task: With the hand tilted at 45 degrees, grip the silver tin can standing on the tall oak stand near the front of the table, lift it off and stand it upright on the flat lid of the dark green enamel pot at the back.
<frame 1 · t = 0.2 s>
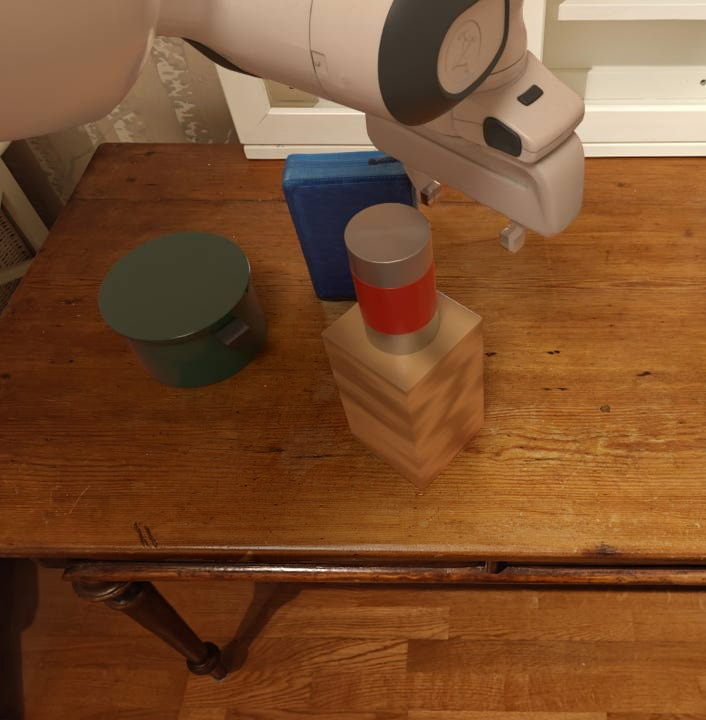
hand: (469, 223, 62), 22 cm above the table, tool pointing down, fingers open, 8 cm apart
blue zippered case: (375, 290, 88), on the table
stand: (419, 431, 75), on the table
can: (402, 325, 61), point 18 cm above the table, touching stand
pot: (203, 336, 83), on the table
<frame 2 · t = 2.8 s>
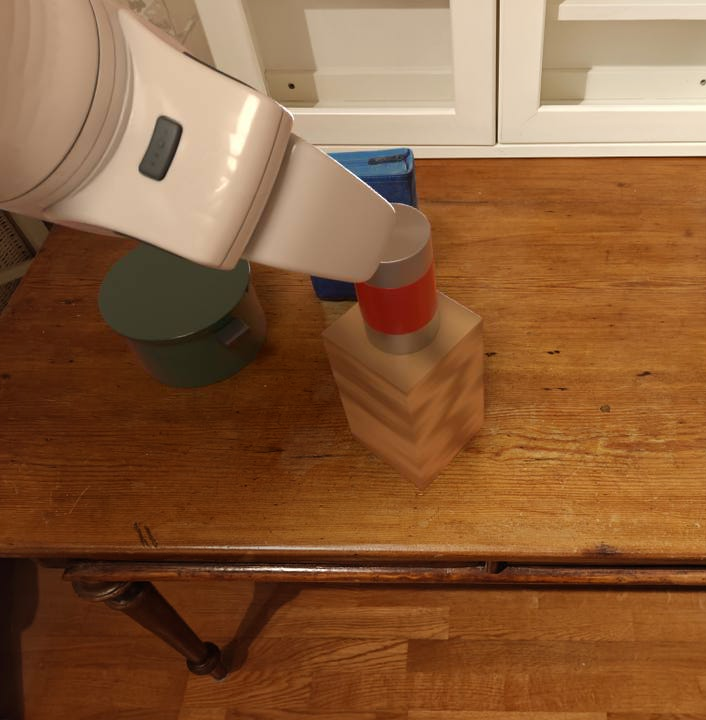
hand: (287, 205, 40), 38 cm above the table, tool tilted 35°, fingers open, 8 cm apart
nothing on the table moved.
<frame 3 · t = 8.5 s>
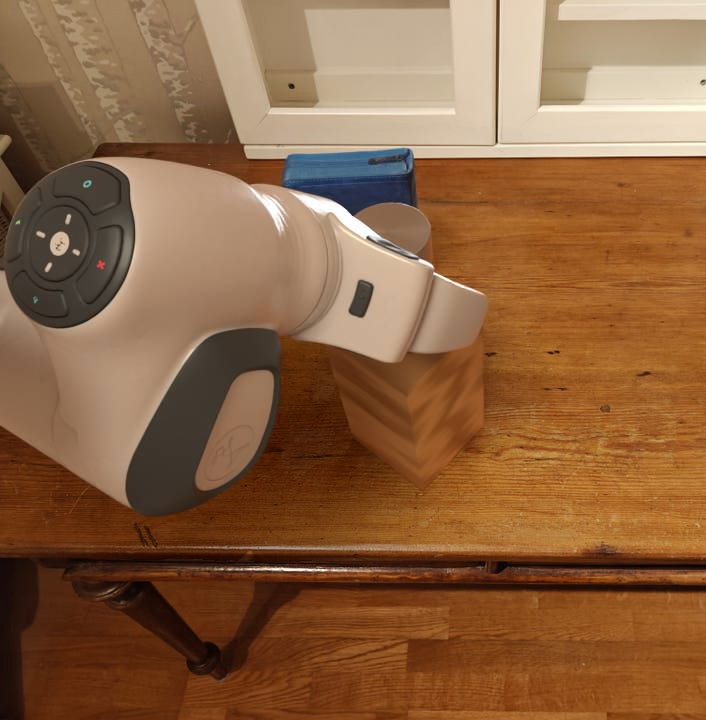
hand: (399, 273, 56), 24 cm above the table, tool tilted 45°, fingers closed on can, 6 cm apart
can: (402, 325, 61), point 18 cm above the table, touching gripper, stand
everything else where it was.
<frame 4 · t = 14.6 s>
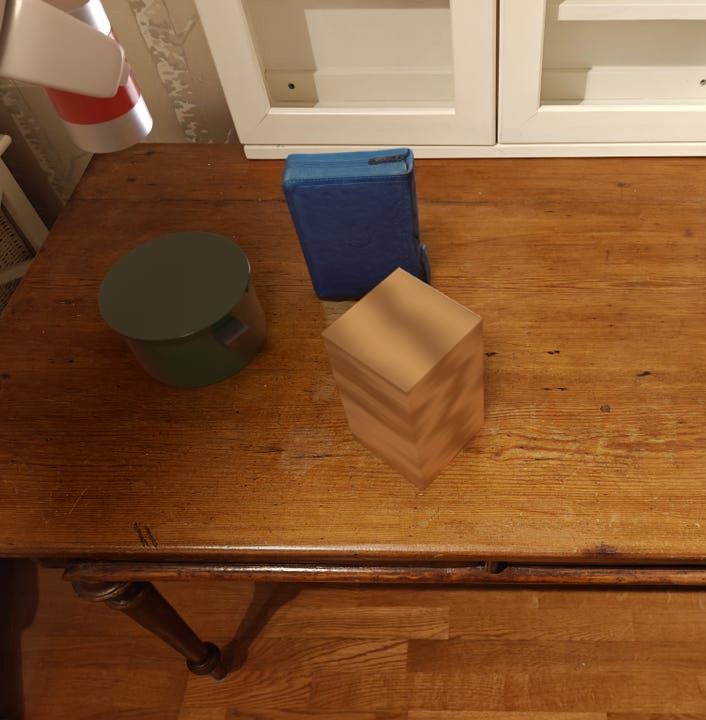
hand: (86, 60, 54), 36 cm above the table, tool tilted 45°, fingers closed on can, 6 cm apart
can: (113, 130, 59), point 30 cm above the table, touching gripper
everything else where it was.
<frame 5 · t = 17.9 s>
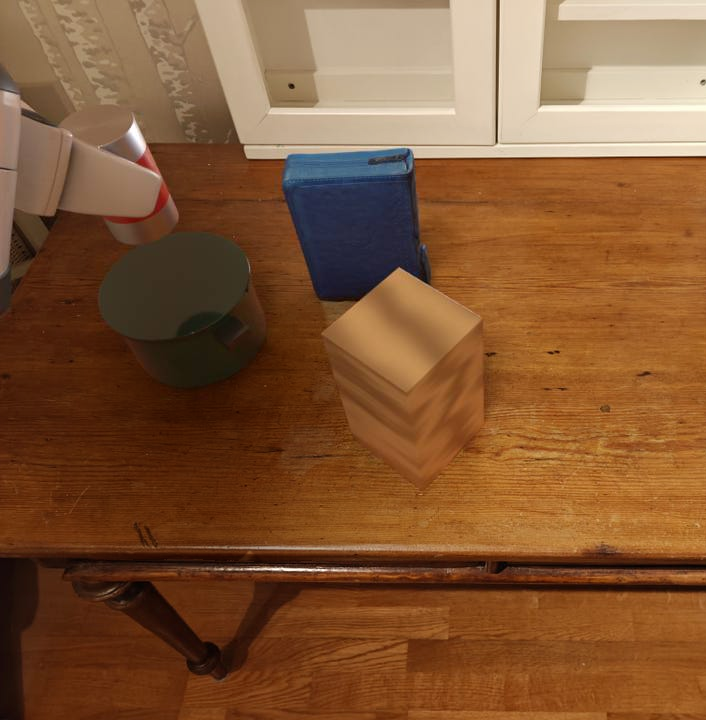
hand: (125, 169, 64), 24 cm above the table, tool tilted 45°, fingers closed on can, 6 cm apart
can: (145, 222, 69), point 18 cm above the table, touching gripper
everything else where it was.
when the fingers open (15 cm above the table, at t = 20.8 s): can stays where it is, resting on pot.
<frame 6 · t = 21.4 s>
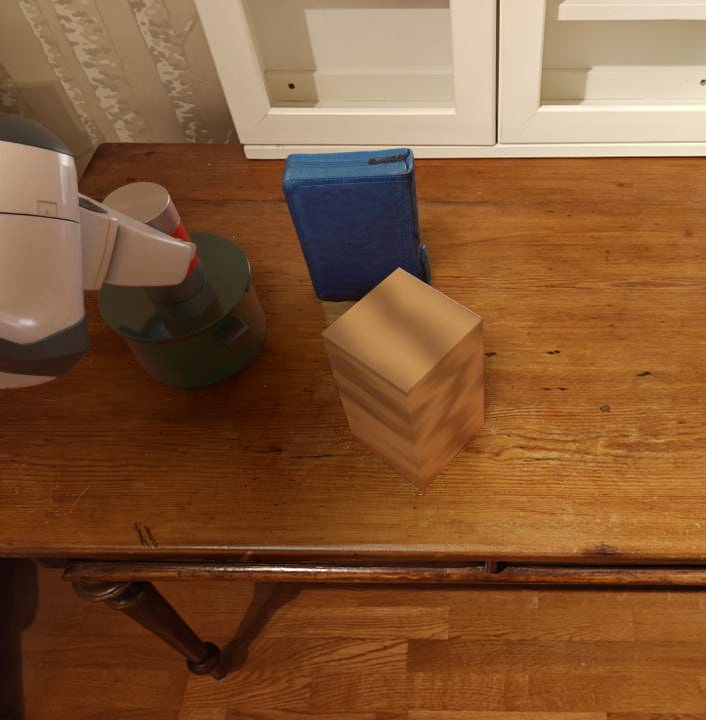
hand: (155, 234, 71), 16 cm above the table, tool tilted 45°, fingers open, 8 cm apart
can: (175, 282, 76), point 9 cm above the table, touching pot
everything else where it was.
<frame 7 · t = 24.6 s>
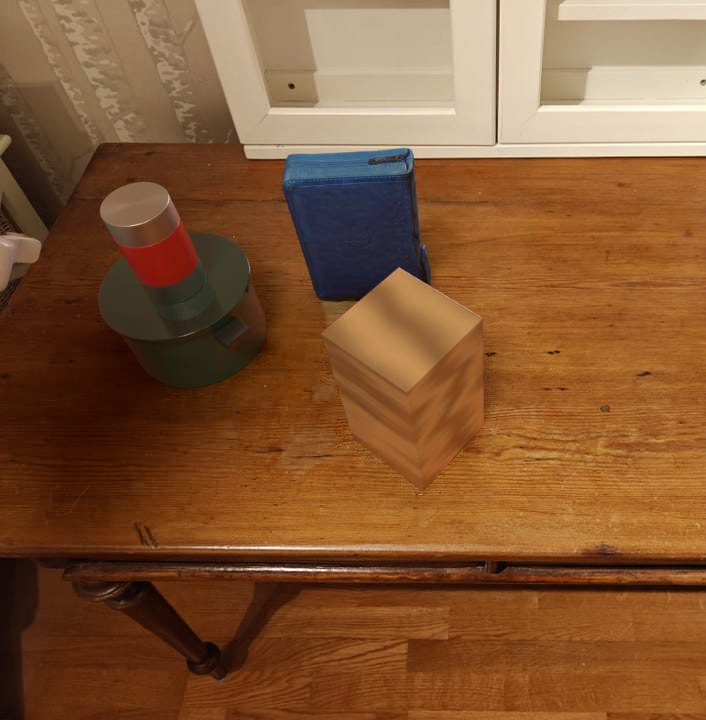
nothing on the table moved.
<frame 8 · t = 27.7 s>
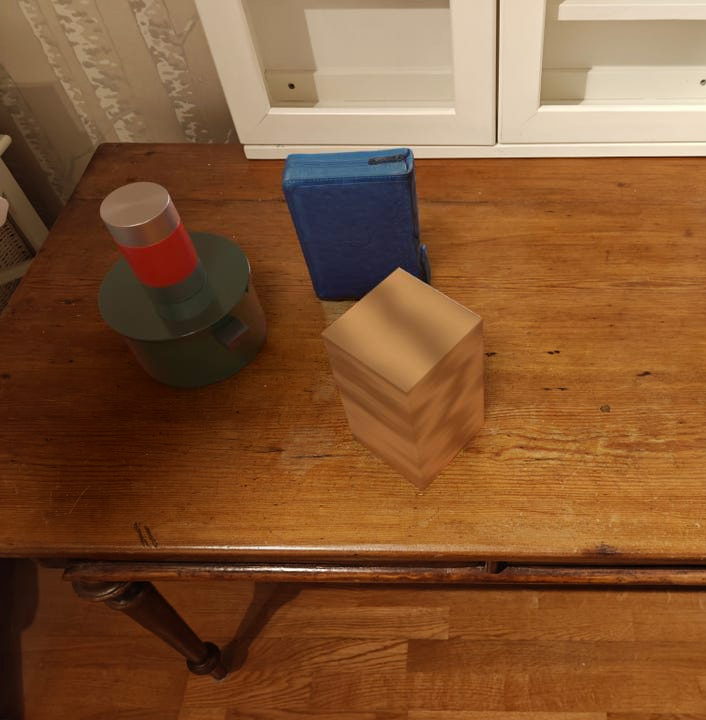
nothing on the table moved.
at the end: can 0.1 cm off-centre on the pot, point 9.4 cm above the pot's base; can tilted 0°; the gripper is holding nothing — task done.
